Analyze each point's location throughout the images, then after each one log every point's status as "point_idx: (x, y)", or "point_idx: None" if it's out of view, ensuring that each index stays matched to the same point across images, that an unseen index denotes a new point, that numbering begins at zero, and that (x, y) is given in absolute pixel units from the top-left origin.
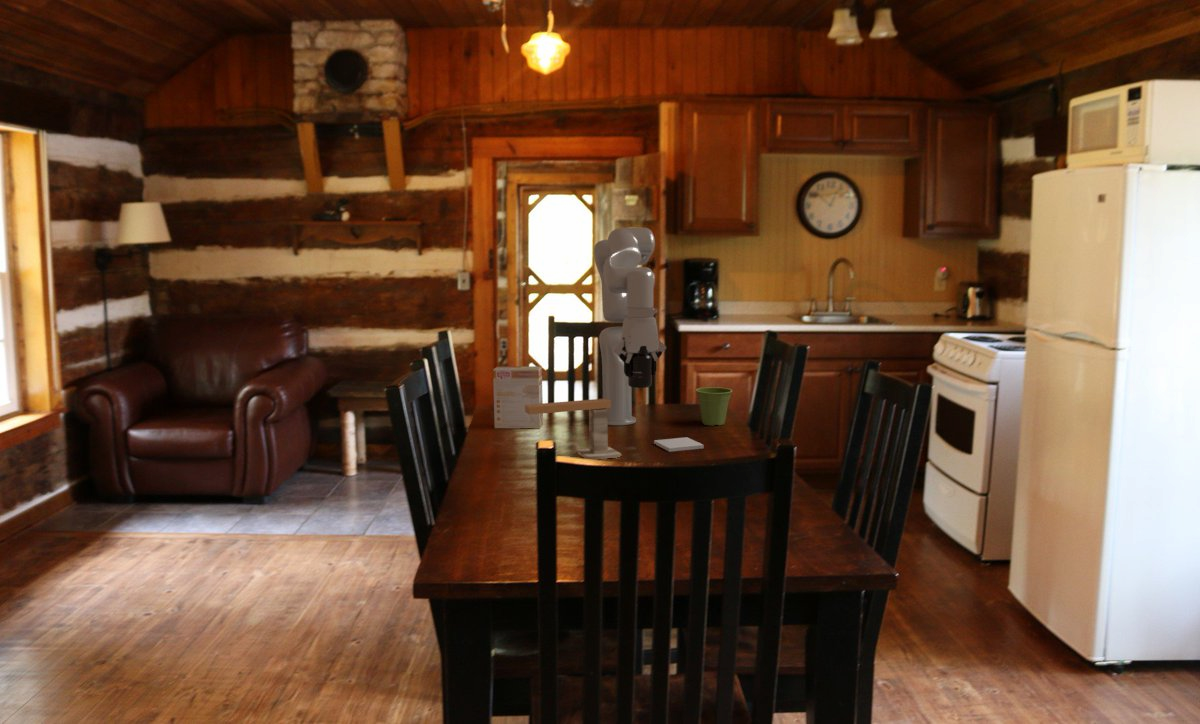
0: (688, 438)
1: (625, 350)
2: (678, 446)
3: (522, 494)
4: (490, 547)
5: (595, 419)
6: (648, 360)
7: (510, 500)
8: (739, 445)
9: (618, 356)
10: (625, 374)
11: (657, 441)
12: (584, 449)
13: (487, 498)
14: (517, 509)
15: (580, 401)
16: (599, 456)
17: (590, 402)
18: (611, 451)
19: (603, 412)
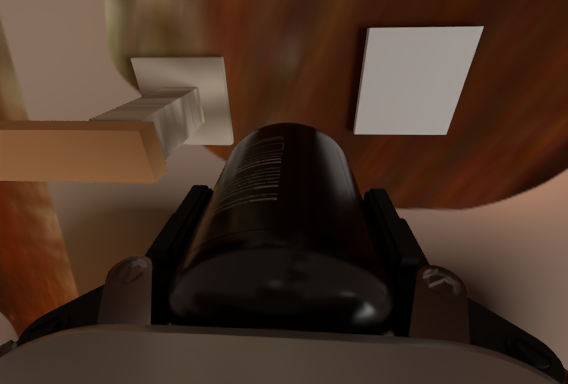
0: (472, 46)
1: (77, 340)
2: (384, 125)
3: (63, 261)
4: None
5: None
6: None
7: (53, 273)
8: (534, 138)
9: (41, 317)
10: (194, 189)
11: (371, 46)
12: (152, 69)
13: (20, 260)
14: (68, 297)
15: (32, 150)
16: (181, 144)
17: (76, 181)
18: (214, 116)
19: None
